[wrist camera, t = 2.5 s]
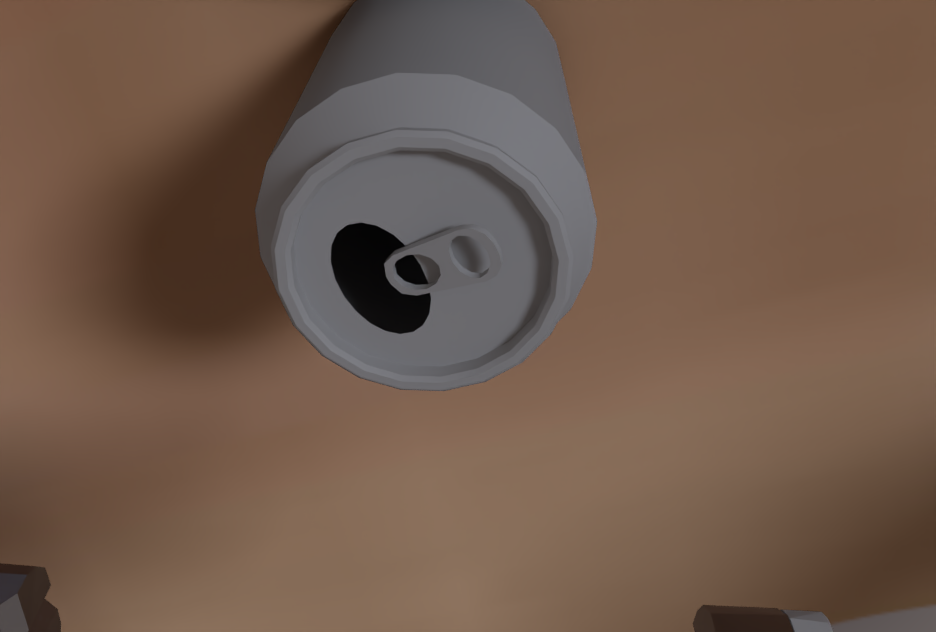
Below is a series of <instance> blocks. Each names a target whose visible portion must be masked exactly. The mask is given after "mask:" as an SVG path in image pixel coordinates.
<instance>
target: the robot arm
mask: <svg viewBox="0 0 936 632" xmlns="http://www.w3.org/2000/svg"><path fill="white" fill-rule="evenodd" d="M50 586H51V584H50V581H49V578H48V575H47V572H46V569H45V567H36V566H24V565H13V564H1V563H0V632H61V621H60V617H59V613H58V609H57V608H56V607H54V606H53V605H52V604H51V603H49V602H48V601H47V600H46V599H44V598H45V596H46V594H47V592H48V590H49V588H50ZM693 627H694V631H695V632H833V629H832V626H831V624H830V622H829V619H828V618H827V617H826V616H825V615H824V614H823V613H822V612H816V611H799V610H779V609H778V608H759V607H737V606H715V605H703V606H701V607H700V608H699V609H698V610H697V613H696V616H695V618H694V621H693Z"/></svg>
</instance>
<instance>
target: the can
mask: <svg viewBox="0 0 936 632" xmlns="http://www.w3.org/2000/svg"><path fill="white" fill-rule="evenodd" d="M255 213H256V222H257V230H258V239H259V248H260V256H261V259H262V261H263V263H264V265H265V267H266V269H267V271H268V273H269V276H270V278H271V280H272V282H273V284H274V286H275V289H276V291H277V293H278V295H279V297H280V299H281V301H282V303H283V305H284V308H285V310H286V312H287V314H288V316H289V318H290V320H291V322H292V324H293V326H294V327H295V328H296V329H297V330H298V331H299V332H300V333H301V334H302V335H303V336H304V337H305V338H306V339H307V340H308V341H309V343H310V344H311V345H312V346H313V347H314V348H315V349H316V350H317V351H318V352H319V353H320V354H321V355H322V356H323V357H325V358H327V359H328V360H330V361H332V362H333V363H335V364H337V365H338V366H340V367H342V368H344V369H345V370H347V371H349V372H350V373H352V374H354V375H355V376H357V377H359V378H362V379H365V380H369V381H372V382H376V383H379V384H383V385H386V386H390V387H393V388H397V389H400V390H428V391H446V390H451V389H455V388H460V387H464V386H469V385H473V384H478V383H482V382H486V381H488V380H490V379H492V378H494V377H495V376H497V375H499V374H501V373H503V372H505V371H507V370H509V369H511V368H512V367H514V366H516V365H518V364H520V363H522V362H523V361H524V360H525V359H526V358H527V357H528V356H529V355H530V354H531V353H532V352H533V351H534V350H535V349H536V348H537V347H538V346H539V345H540V344H541V343H542V342H543V341H544V340H545V339H546V338H547V337H548V336H549V335H550V334H551V333H552V331H553V329H554V327H555V325H556V323H557V322H558V321H559V320H560V319H561V318H562V317H563V316H564V315H565V314H566V313H567V312H568V311H569V310H570V309H571V307H572V305H573V303H574V301H575V300H576V298H577V296H578V294H579V292H580V290H581V288H582V286H583V284H584V282H585V280H586V278H587V276H588V274H589V272H590V270H591V267H592V259H593V250H594V242H595V234H596V226H597V219H596V214H595V210H594V206H593V201H592V197H591V192H590V188H589V184H588V179H587V175H586V171H585V166H584V162H583V157H582V153H581V149H580V144H579V140H578V136H577V131H576V127H575V122H574V118H573V114H572V109H571V105H570V101H569V96H568V92H567V87H566V83H565V79H564V75H563V70H562V66H561V62H560V58H559V54H558V49H557V45H556V42H555V40H554V39H553V37H552V35H551V34H550V32H549V31H548V29H547V27H546V26H545V24H544V23H543V21H542V19H541V18H540V16H539V15H538V13H537V11H536V10H535V9H534V8H533V7H532V6H531V5H530V4H528V3H527V2H526V1H525V0H357V1H356V2H354V3H353V5H352V6H351V8H350V9H349V11H348V12H347V14H346V15H345V17H344V18H343V19H342V21H341V22H340V24H339V25H338V27H337V28H336V30H335V31H334V33H333V34H332V36H331V38H330V40H329V42H328V44H327V46H326V48H325V50H324V52H323V54H322V56H321V57H320V59H319V61H318V63H317V65H316V67H315V69H314V71H313V73H312V75H311V77H310V79H309V81H308V83H307V85H306V87H305V89H304V91H303V93H302V95H301V97H300V99H299V101H298V103H297V104H296V106H295V108H294V110H293V112H292V114H291V116H290V118H289V120H288V122H287V124H286V126H285V128H284V130H283V132H282V134H281V136H280V138H279V140H278V142H277V144H276V146H275V148H274V150H273V151H272V153H271V155H270V157H269V159H268V161H267V164H266V168H265V172H264V176H263V180H262V184H261V188H260V192H259V196H258V200H257V204H256V208H255Z"/></svg>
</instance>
